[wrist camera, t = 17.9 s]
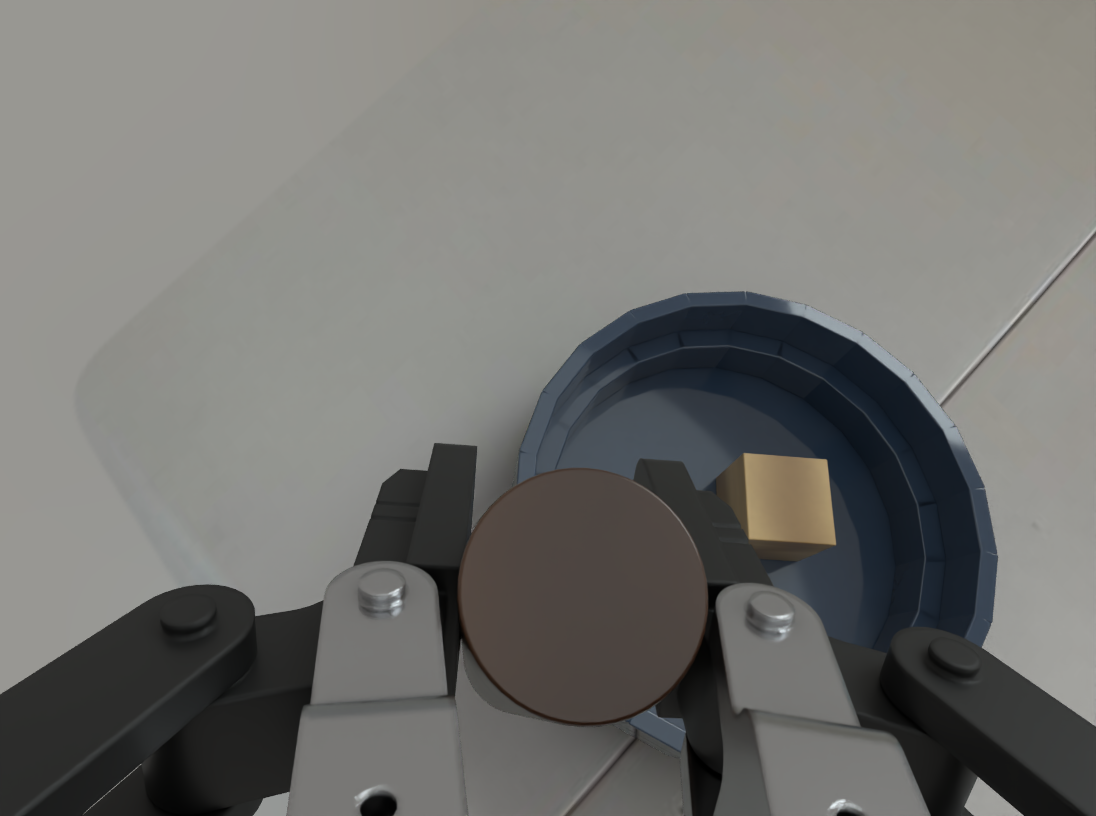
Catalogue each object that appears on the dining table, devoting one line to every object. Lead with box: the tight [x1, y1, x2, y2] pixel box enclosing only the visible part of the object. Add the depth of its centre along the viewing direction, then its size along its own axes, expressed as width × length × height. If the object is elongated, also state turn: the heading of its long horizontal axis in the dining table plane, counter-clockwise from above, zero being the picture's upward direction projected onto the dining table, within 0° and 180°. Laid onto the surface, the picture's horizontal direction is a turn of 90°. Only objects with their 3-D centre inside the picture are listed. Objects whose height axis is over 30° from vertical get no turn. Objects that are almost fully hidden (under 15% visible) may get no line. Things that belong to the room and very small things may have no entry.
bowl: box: [512, 291, 998, 759], centre depth 29 cm, size 18×19×5 cm
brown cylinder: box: [457, 468, 708, 727], centre depth 13 cm, size 3×3×10 cm
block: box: [716, 453, 836, 561], centre depth 30 cm, size 4×4×4 cm
